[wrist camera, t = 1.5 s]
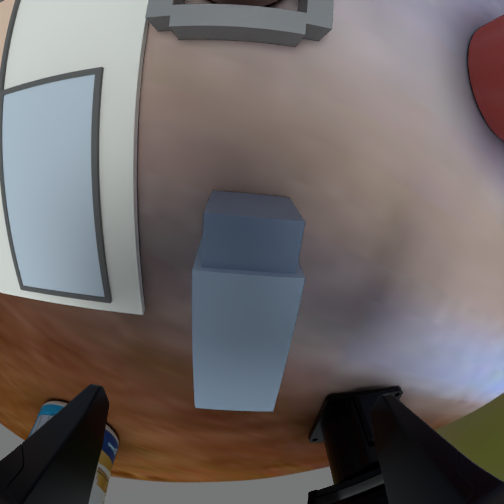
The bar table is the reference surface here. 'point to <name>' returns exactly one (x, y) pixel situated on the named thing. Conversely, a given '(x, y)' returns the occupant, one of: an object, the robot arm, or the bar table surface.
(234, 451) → the bar table surface
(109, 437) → the beverage bottle
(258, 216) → the blue paint stick
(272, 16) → the button housing
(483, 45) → the flower pot
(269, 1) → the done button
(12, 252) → the white sorting board
